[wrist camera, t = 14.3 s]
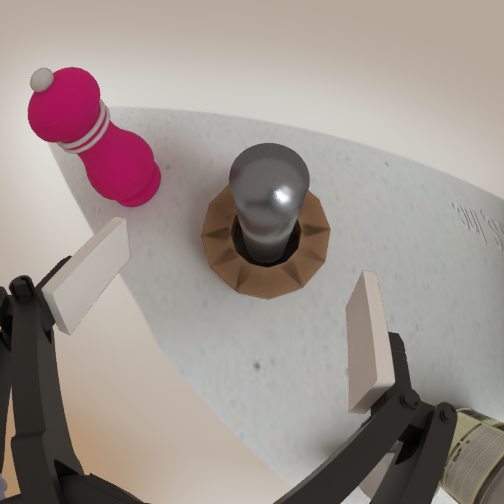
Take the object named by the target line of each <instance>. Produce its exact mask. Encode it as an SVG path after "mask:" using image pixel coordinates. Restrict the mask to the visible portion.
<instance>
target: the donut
mask: <svg viewBox="0 0 504 504" xmlns="http://www.w3.org/2000/svg"><path fill="white" fill-rule="evenodd" d="M394 455H395V453H386V455H385V456H384V457H383V458H382V459H381V461H380V462H379V463H378V464H377V465H376V467H375V468H374V469H373V470H372V471H371V472H370V473H369V474H368V476H367V477H366V478H365V479H364V480H363V481H362V482H361V483H360V484H359V485H358V486H359V487H360V489H361V490H362V491H363V493H364V494H366V495H367V496H368V497H370V498H371V499H372V498H373V496H374V495H375V493H376V491H377V489H378V487H379V485H380V483H381V481H382V480H383V478H384V476H385V474H386V472H387V470H388V468H389V465H390V463H391V461H392V459H393V457H394ZM439 487H440V483H439V484H438V487H437V489H436V492H435V495H434V497H433V499H434V498H435V496H436V494H437V492H438V490H439ZM433 499H432V500H433Z"/></svg>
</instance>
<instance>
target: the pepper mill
mask: <svg viewBox="0 0 504 504" xmlns="http://www.w3.org/2000/svg"><path fill="white" fill-rule="evenodd" d="M30 85H31V88H32V90H34V93H33V95H32V97H31V99H30V102H29V106H28V120H29V124H30V126H31V128H32V130H33V131H34V132H35V133H36V135H37V136H38V137H40V138H41V139H43V140H44V141H48V142H52V143H54V142H56V143H57V144H58V145H59V146H60V147H62V148H63V150H65V151H66V152H68V153H77V154H78V156H79V157H80V158H81V159H82V161H83V163H84V165H85V168H86V172H87V176H88V179H89V181H90V183H91V185H92V186H93V187H94V189H95V190H96V191H97V192H98V193H99V194H101V195H102V196H103V197H105V198H107V199H110V200H116V201H117V202H118V203H120V204H121V205H123V206H126V207H136V206H140V205H142V204H144V203H146V202H147V201H149V200H150V199H151V198H152V197H153V195H154V194H155V193H156V191H157V189H158V187H159V185H160V180H161V174H160V170H159V168H158V166H157V164H156V163H155V162H154V156H153V152H152V150H151V148H150V147H149V145H148V144H147V143H146V142H145V140H143V139H142V138H141V137H140V136H138V135H136V134H135V133H132V132H129V131H125V130H122V129H120V128H118V127H117V126H115V125H114V124H113V123H112V122H111V121H110V112H109V109H108V108H107V106H106V105H105V104H104V102H103V101H102V100H101V99H100V89H99V86H98V83H97V81H96V80H95V79H94V77H93V76H92V75H91V74H90V73H88V72H87V71H85V70H83V69H81V68H74V67H70V68H64V69H61V70H58V71H56V72H54V73H52V71H51V70H50V69H48V68H40V69H38V70H37V71H35V72H34V74H33V75H32V77H31V80H30Z"/></svg>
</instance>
